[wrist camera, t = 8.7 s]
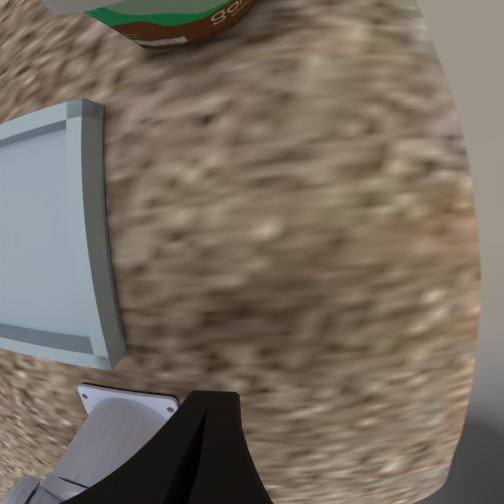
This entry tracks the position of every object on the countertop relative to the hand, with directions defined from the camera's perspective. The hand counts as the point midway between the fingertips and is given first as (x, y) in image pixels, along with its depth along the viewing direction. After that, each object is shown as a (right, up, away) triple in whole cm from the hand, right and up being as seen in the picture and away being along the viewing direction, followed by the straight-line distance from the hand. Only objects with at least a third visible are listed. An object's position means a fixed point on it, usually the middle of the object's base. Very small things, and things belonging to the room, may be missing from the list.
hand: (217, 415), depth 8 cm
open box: (-14, +6, +9) cm, 18 cm away
